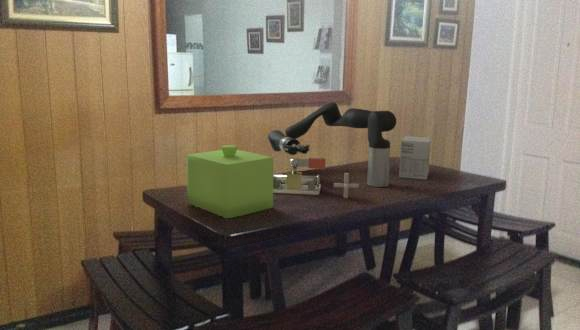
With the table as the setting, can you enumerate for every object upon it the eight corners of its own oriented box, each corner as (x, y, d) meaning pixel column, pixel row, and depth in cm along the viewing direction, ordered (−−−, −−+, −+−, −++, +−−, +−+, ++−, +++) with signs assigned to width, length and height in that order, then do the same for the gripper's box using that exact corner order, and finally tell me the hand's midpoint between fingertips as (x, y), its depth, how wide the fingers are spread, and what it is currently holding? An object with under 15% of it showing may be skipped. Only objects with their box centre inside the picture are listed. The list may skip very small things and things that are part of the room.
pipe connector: (357, 194, 210) (358, 171, 208) (358, 201, 200) (359, 176, 198) (333, 193, 211) (334, 170, 209) (333, 200, 201) (333, 175, 199)
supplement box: (427, 180, 239) (429, 142, 235) (398, 177, 243) (400, 140, 239) (428, 172, 255) (431, 137, 251) (402, 170, 259) (404, 135, 255)
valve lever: (289, 167, 212) (290, 158, 212) (290, 166, 216) (290, 157, 215) (325, 169, 211) (325, 159, 210) (325, 167, 215) (325, 158, 214)
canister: (187, 204, 193) (186, 144, 188) (232, 194, 208) (231, 139, 203) (227, 219, 175) (226, 153, 171) (272, 207, 190) (273, 147, 185)
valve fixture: (320, 187, 221) (321, 165, 219) (318, 194, 209) (319, 171, 207) (270, 185, 223) (271, 163, 221) (266, 192, 211) (266, 168, 209)
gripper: (302, 152, 242) (318, 158, 226) (276, 154, 237) (291, 160, 221) (302, 137, 240) (318, 142, 225) (276, 138, 235) (291, 143, 220)
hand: (305, 151), depth 223 cm, fingers closed
